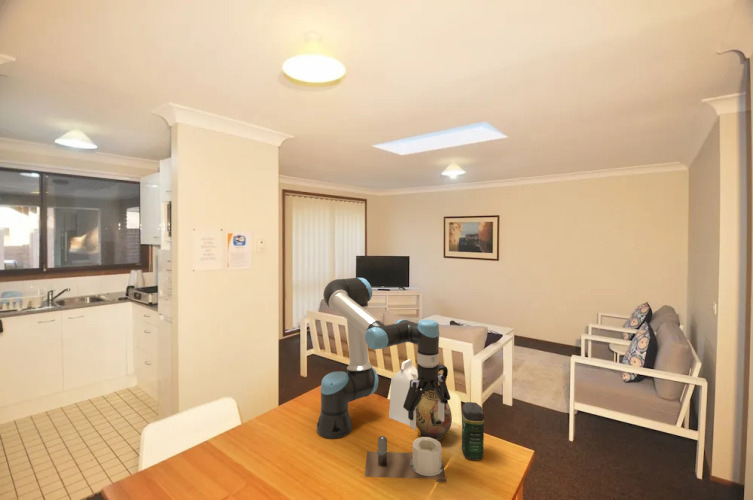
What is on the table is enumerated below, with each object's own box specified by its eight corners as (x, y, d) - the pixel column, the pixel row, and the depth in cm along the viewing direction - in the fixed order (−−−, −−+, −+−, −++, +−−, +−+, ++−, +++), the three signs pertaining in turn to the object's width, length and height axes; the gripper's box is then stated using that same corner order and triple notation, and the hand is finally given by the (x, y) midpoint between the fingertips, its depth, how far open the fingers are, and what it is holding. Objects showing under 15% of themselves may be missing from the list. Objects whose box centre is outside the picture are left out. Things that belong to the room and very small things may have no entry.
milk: (402, 407, 168) (402, 355, 168) (423, 414, 162) (423, 360, 161) (388, 417, 159) (389, 362, 158) (410, 425, 152) (410, 367, 151)
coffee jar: (485, 462, 127) (486, 412, 127) (463, 460, 128) (464, 411, 128) (480, 446, 137) (481, 400, 136) (460, 445, 138) (460, 399, 137)
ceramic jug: (428, 450, 134) (429, 375, 133) (407, 431, 148) (408, 362, 147) (462, 439, 142) (463, 367, 141) (439, 421, 155) (440, 356, 155)
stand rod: (376, 464, 124) (376, 437, 124) (380, 459, 127) (380, 432, 126) (384, 467, 122) (384, 439, 122) (388, 462, 125) (388, 435, 125)
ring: (414, 473, 119) (414, 453, 119) (411, 455, 129) (411, 436, 129) (443, 473, 119) (443, 453, 118) (438, 455, 129) (438, 437, 128)
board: (364, 479, 118) (364, 476, 118) (367, 453, 132) (367, 451, 132) (446, 482, 116) (446, 479, 116) (440, 456, 130) (440, 453, 130)
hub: (404, 469, 122) (404, 452, 121) (417, 451, 132) (418, 435, 132) (436, 481, 116) (436, 463, 115) (448, 461, 126) (448, 445, 126)
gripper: (405, 373, 114) (404, 437, 114) (461, 362, 125) (460, 420, 126) (393, 366, 120) (393, 426, 121) (447, 355, 132) (446, 411, 132)
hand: (427, 423), depth 123 cm, fingers open, 12 cm apart
